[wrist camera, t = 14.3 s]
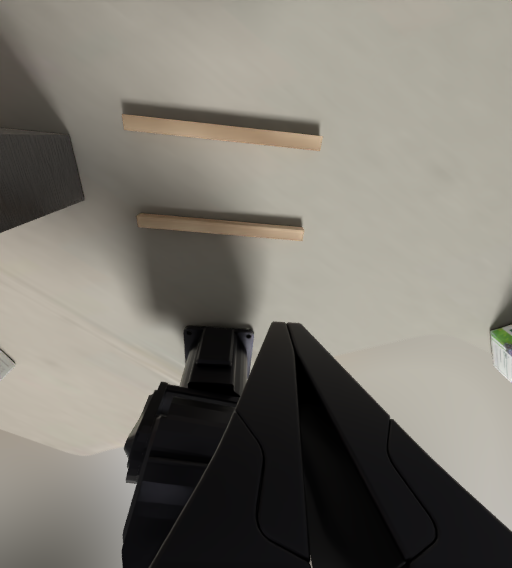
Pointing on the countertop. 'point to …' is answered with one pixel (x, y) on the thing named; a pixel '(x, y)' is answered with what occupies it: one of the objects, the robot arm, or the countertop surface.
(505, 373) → the syrup box
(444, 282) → the countertop surface
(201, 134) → the track
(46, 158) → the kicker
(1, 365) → the skincare box
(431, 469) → the robot arm
